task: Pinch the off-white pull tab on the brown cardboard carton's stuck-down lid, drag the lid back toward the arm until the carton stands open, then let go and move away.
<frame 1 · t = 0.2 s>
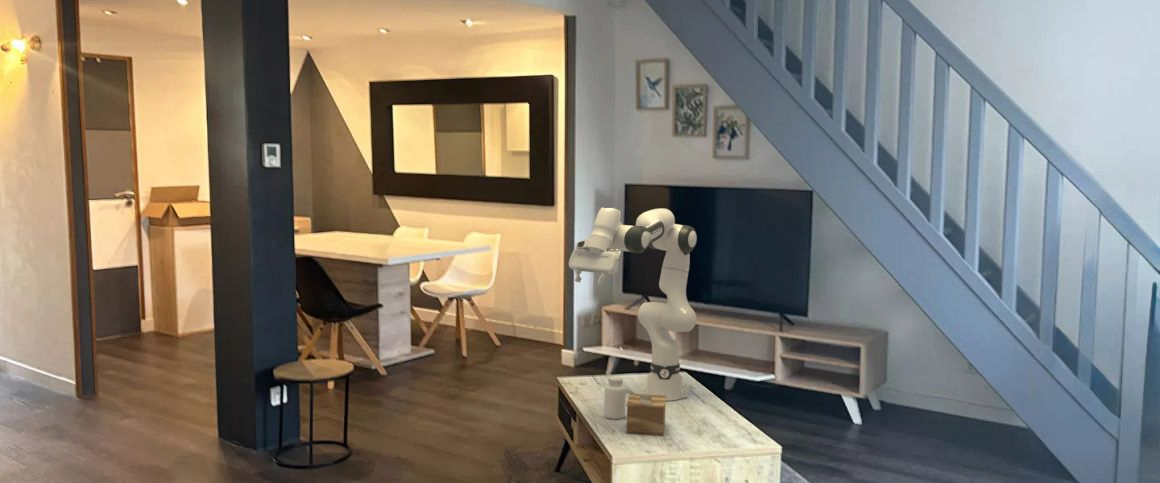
hand: (587, 282, 327), 54 cm above the table, tool tilted 30°, fingers open, 8 cm apart
carton: (646, 428, 334), on the table
pill bottle: (614, 417, 349), on the table
lid: (646, 396, 333), point 12 cm above the table, slide at 0.0 cm
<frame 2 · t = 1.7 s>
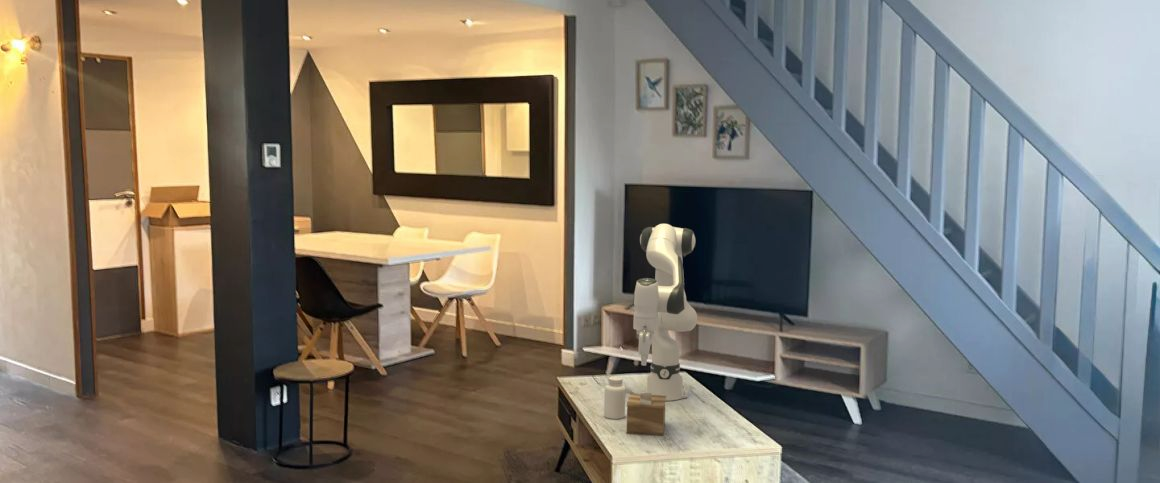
hand: (644, 362, 326), 26 cm above the table, tool pointing down, fingers open, 8 cm apart
nothing on the table moved.
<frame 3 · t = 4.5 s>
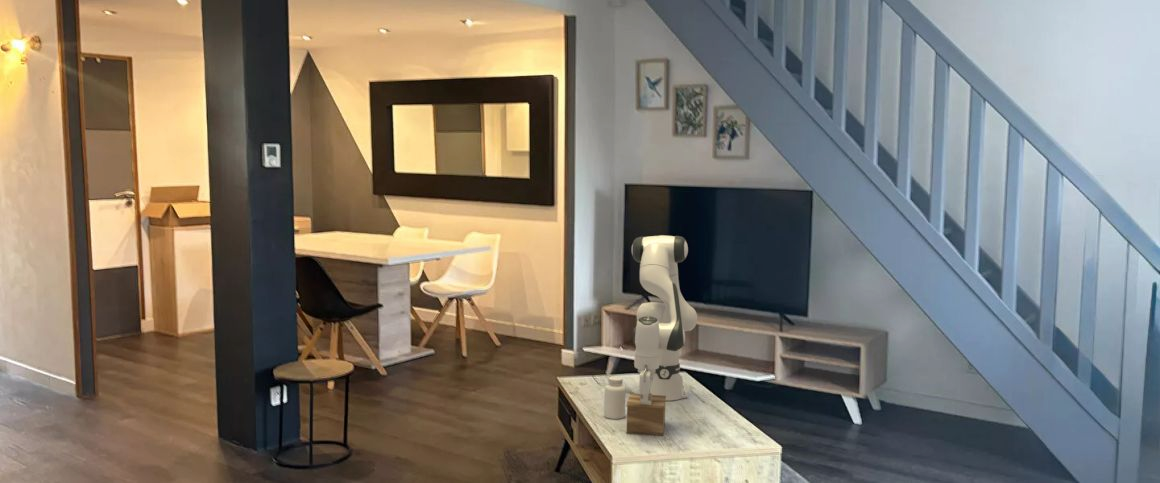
hand: (645, 400, 328), 12 cm above the table, tool pointing down, fingers closed on lid, 2 cm apart
lid: (646, 396, 333), point 12 cm above the table, slide at 0.0 cm, touching gripper
everything else where it was.
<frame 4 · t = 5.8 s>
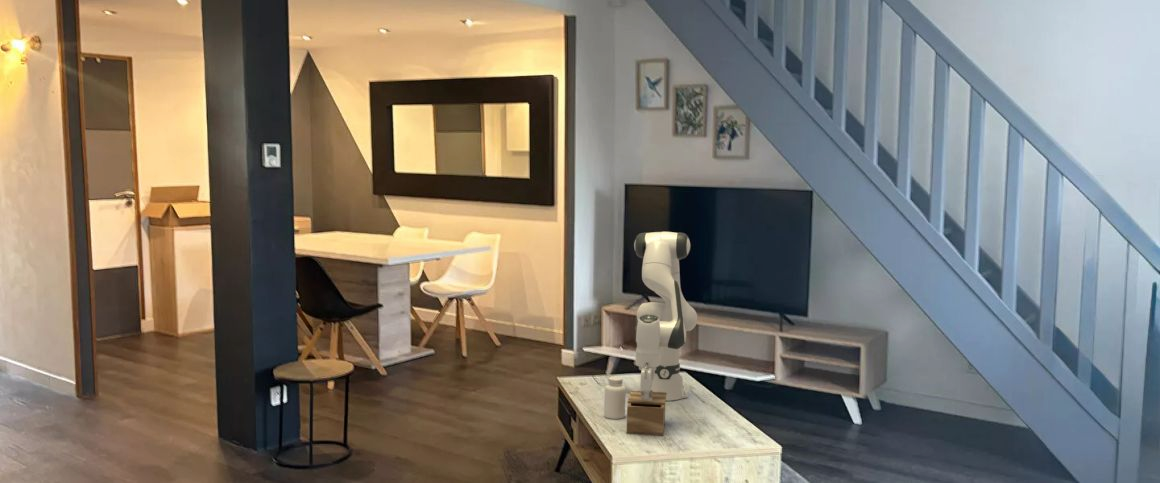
hand: (646, 397, 332), 12 cm above the table, tool pointing down, fingers closed on lid, 2 cm apart
lid: (647, 392, 337), point 12 cm above the table, slide at 4.5 cm, touching gripper
everything else where it was.
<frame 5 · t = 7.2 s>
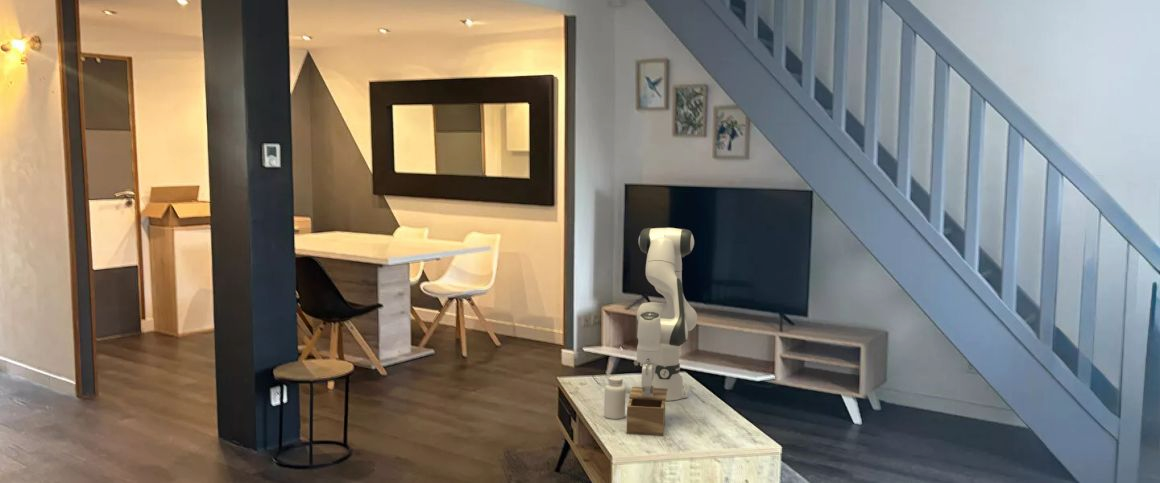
hand: (647, 393, 338), 12 cm above the table, tool pointing down, fingers closed on lid, 2 cm apart
lid: (648, 388, 343), point 12 cm above the table, slide at 10.1 cm, touching gripper
everything else where it was.
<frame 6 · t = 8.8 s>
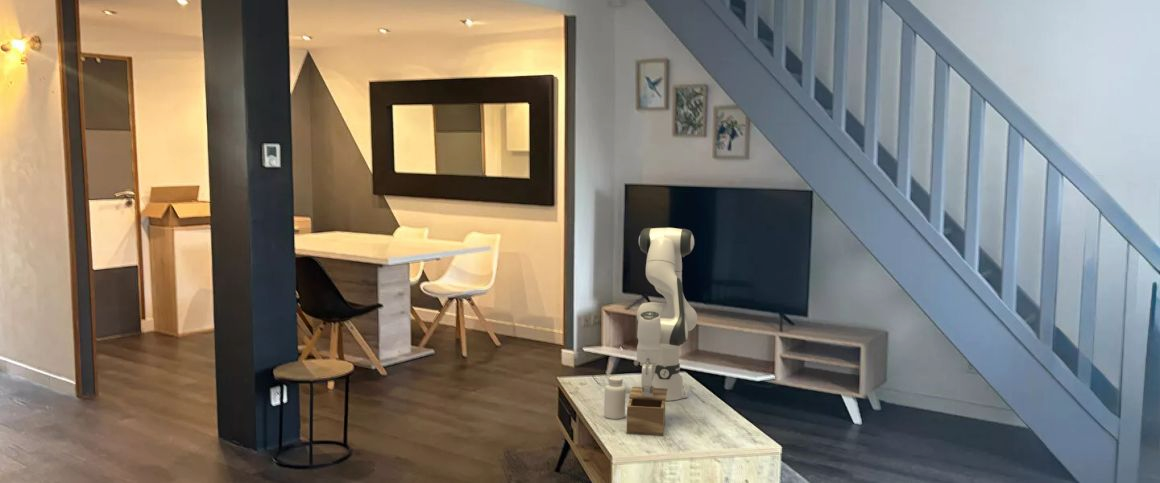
hand: (647, 392, 338), 12 cm above the table, tool pointing down, fingers open, 8 cm apart
lid: (648, 388, 343), point 12 cm above the table, slide at 10.1 cm
everything else where it was.
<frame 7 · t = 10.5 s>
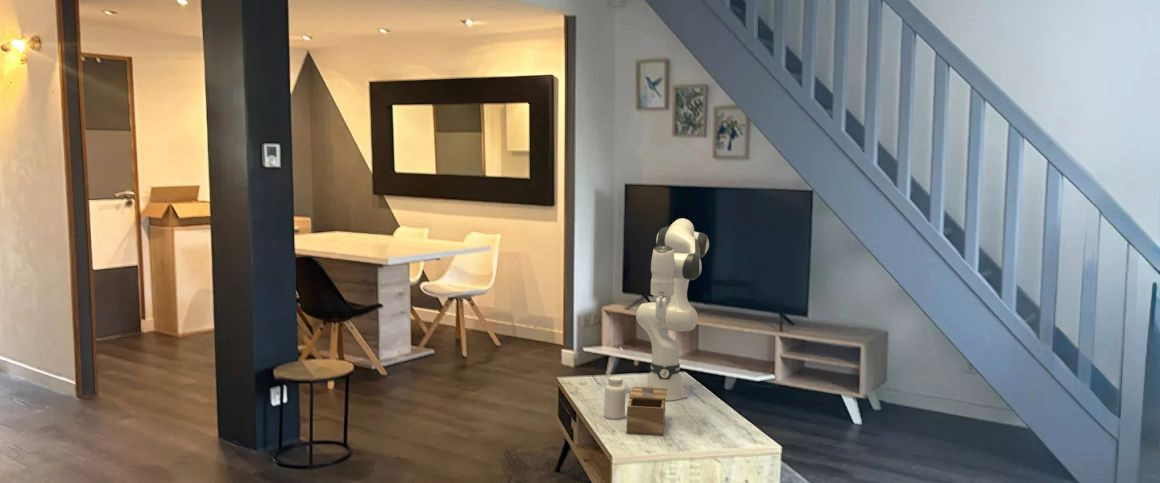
hand: (661, 326, 340), 36 cm above the table, tool pointing down, fingers open, 8 cm apart
nothing on the table moved.
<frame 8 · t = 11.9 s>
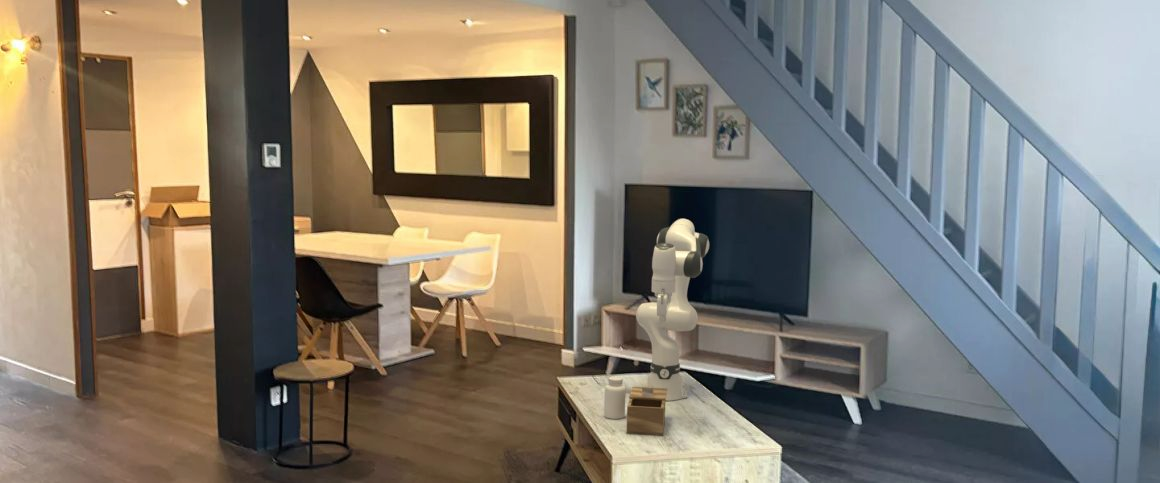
hand: (662, 323, 340), 37 cm above the table, tool pointing down, fingers open, 8 cm apart
nothing on the table moved.
at the end: lid slide at 10.1 cm; the gripper is holding nothing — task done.
